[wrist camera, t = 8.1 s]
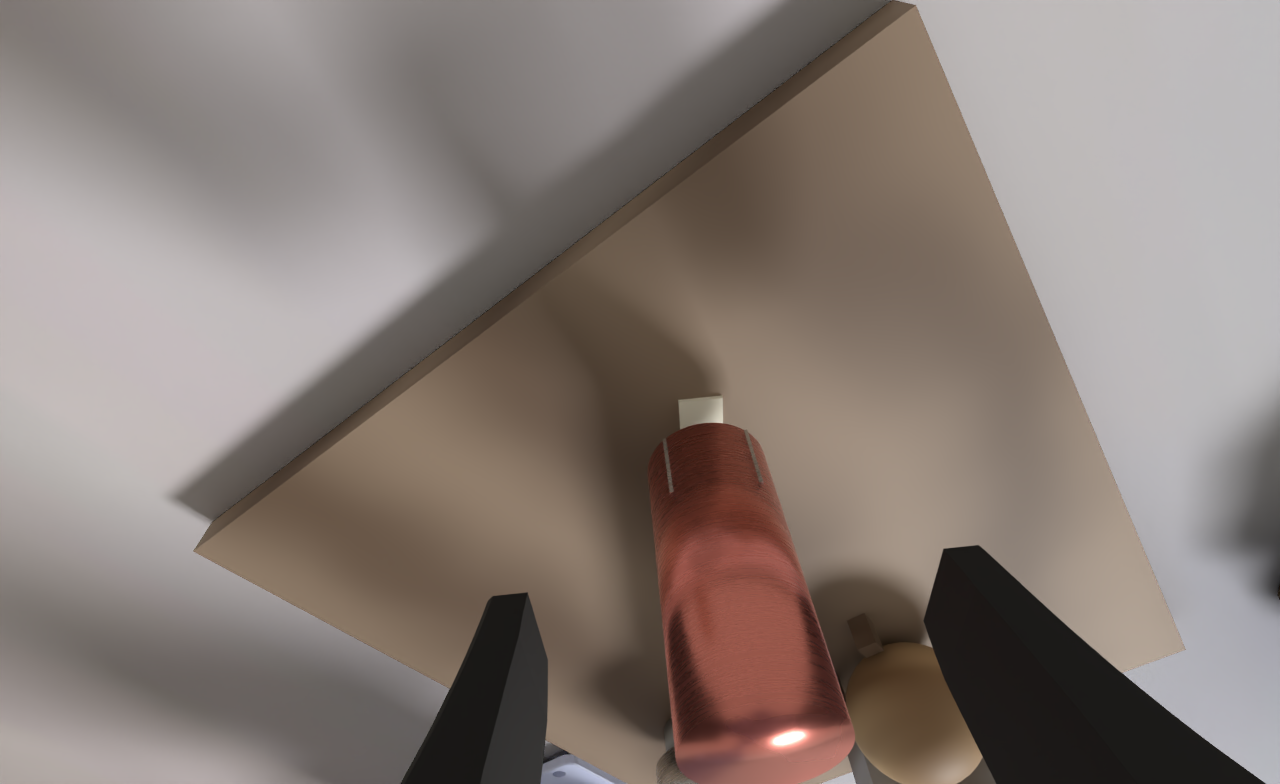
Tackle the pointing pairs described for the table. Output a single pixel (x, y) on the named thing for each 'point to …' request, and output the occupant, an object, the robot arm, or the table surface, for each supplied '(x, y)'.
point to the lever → (737, 621)
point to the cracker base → (728, 417)
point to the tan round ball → (909, 717)
